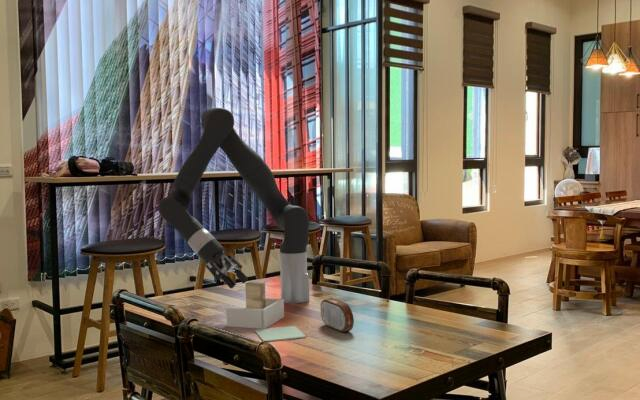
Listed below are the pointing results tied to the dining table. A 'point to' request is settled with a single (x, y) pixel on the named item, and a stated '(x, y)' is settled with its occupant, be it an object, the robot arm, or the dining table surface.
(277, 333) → the sage mat
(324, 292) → the dining table surface
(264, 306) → the maple block
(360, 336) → the dining table surface
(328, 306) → the tin
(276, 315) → the box
